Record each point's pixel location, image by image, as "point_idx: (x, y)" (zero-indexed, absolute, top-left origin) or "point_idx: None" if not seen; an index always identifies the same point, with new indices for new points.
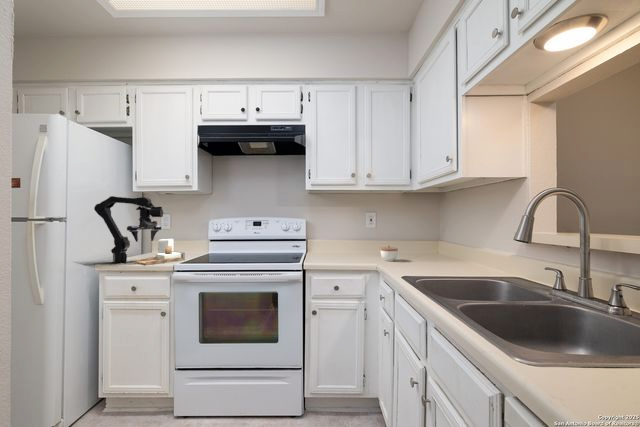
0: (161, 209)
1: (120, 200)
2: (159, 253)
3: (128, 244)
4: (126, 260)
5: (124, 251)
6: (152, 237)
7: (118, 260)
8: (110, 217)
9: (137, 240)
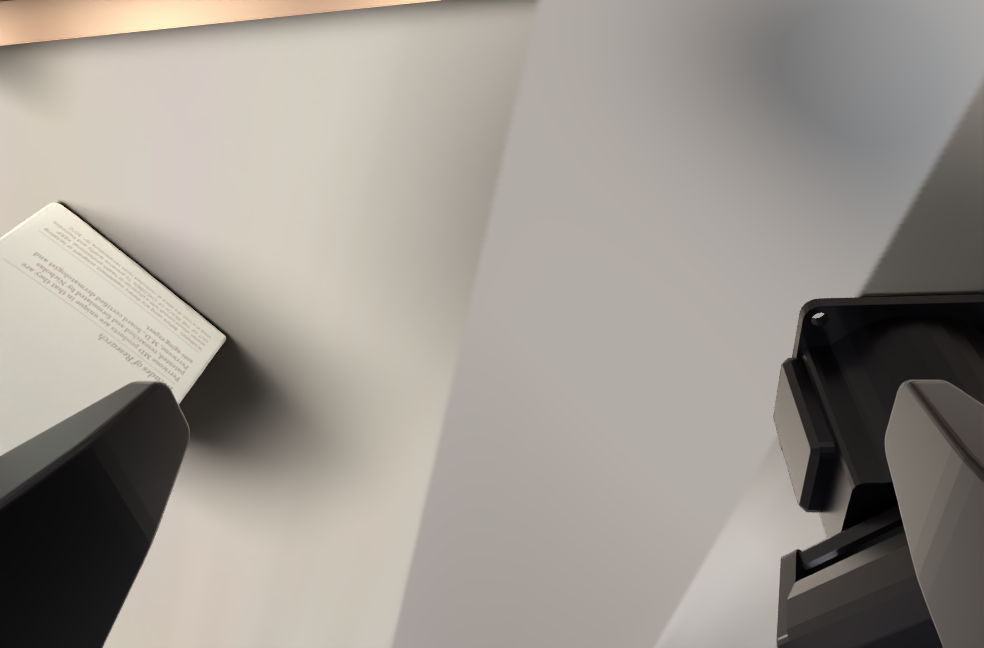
0: None
1: None
2: (165, 375)
3: (877, 638)
4: (789, 358)
5: (865, 524)
6: (23, 497)
7: (981, 341)
8: None
9: (950, 422)
